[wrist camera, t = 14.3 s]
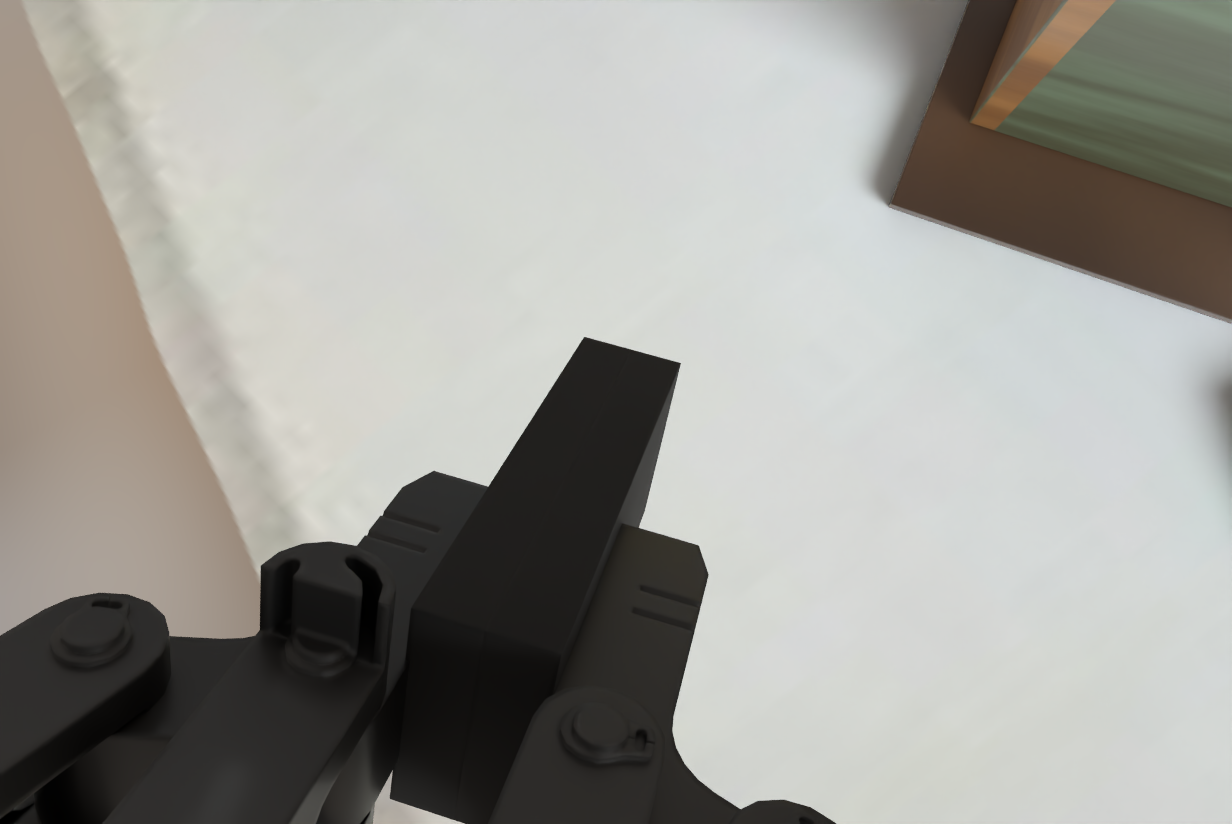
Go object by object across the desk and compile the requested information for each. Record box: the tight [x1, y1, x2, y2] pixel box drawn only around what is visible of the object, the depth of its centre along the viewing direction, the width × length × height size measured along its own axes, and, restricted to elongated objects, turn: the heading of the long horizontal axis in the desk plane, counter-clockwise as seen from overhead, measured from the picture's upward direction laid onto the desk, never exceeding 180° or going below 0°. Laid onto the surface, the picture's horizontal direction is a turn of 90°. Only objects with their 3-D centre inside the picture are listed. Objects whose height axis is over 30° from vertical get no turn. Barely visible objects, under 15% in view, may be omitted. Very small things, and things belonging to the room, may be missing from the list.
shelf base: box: [889, 0, 1232, 324], centre depth 36 cm, size 12×15×1 cm
